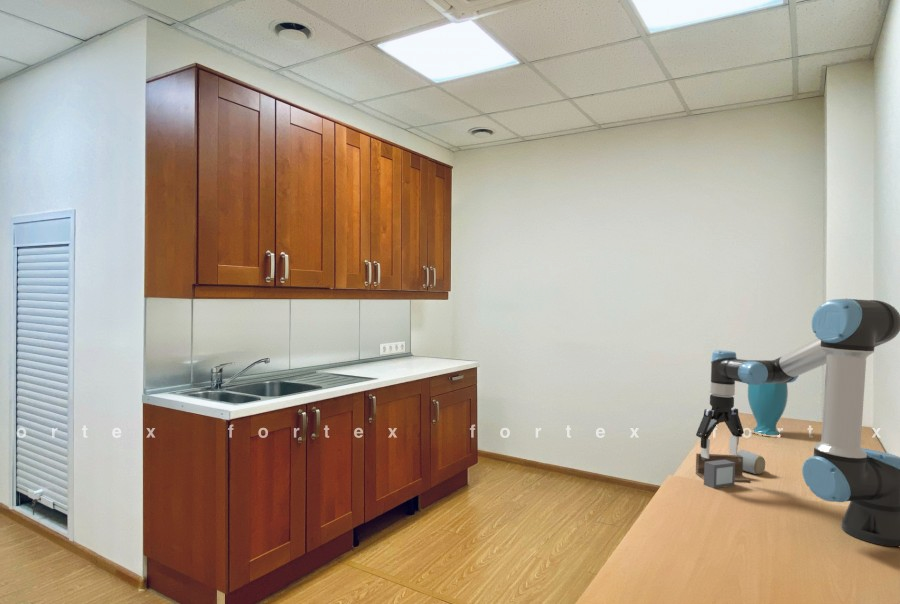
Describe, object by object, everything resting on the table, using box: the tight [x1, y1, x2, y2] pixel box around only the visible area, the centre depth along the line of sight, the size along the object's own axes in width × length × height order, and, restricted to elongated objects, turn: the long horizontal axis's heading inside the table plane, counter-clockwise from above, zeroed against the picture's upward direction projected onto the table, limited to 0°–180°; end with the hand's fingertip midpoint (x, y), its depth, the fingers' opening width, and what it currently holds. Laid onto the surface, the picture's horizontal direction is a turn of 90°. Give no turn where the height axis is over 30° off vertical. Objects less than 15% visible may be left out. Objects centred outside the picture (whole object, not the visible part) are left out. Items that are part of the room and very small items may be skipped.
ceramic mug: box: [737, 449, 766, 475], centre depth 205 cm, size 11×8×8 cm
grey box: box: [703, 460, 735, 489], centre depth 188 cm, size 4×10×8 cm, turn 113°
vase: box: [747, 383, 789, 435], centre depth 270 cm, size 17×17×30 cm
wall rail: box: [695, 452, 751, 483], centre depth 196 cm, size 8×16×8 cm, turn 88°
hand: (719, 456), depth 188 cm, fingers open, 13 cm apart
